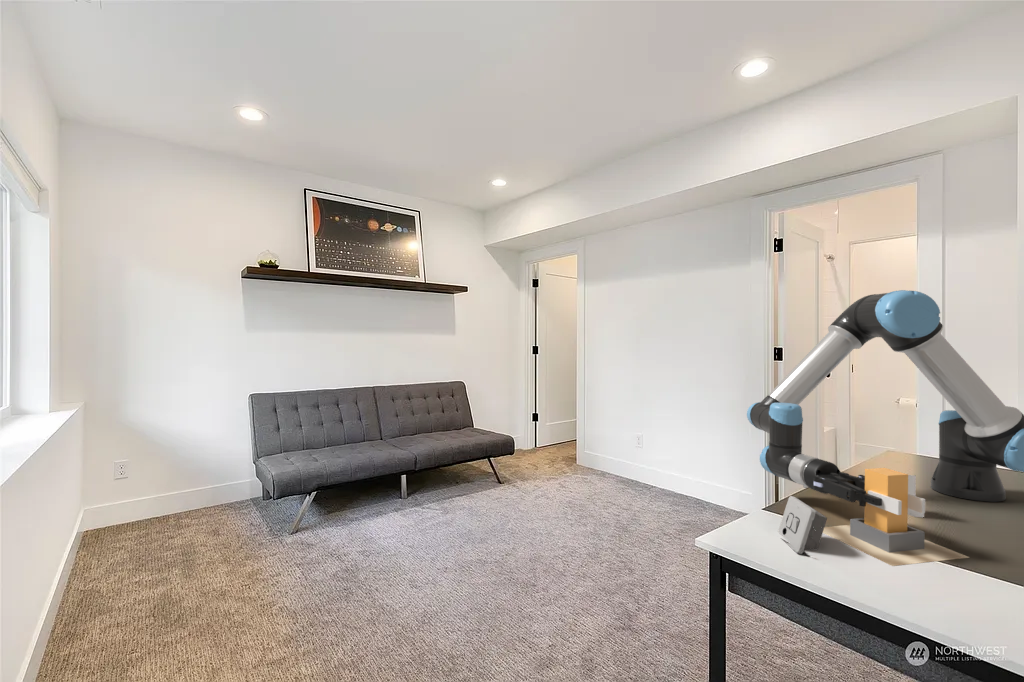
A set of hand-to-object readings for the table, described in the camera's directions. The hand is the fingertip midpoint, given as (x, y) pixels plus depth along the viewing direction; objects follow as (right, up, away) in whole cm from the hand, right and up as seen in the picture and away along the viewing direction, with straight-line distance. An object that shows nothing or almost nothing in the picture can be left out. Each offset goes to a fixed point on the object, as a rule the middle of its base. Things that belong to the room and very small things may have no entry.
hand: (911, 506), depth 95 cm
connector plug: (-1, -6, +5) cm, 8 cm away
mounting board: (-1, -10, +5) cm, 11 cm away
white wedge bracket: (+20, -10, +25) cm, 33 cm away
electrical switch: (-18, -10, +6) cm, 22 cm away
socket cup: (-1, -9, +5) cm, 10 cm away
